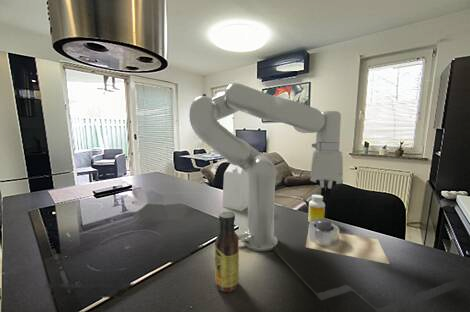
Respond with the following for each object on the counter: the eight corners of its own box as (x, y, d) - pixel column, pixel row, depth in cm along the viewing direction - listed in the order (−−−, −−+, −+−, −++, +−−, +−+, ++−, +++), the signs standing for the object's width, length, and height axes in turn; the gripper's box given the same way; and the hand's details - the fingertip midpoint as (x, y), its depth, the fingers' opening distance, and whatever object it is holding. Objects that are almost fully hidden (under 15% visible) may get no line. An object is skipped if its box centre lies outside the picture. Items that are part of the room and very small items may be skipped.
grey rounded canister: (322, 241, 74) (323, 225, 73) (312, 234, 79) (313, 219, 78) (334, 239, 76) (334, 223, 75) (323, 232, 81) (324, 217, 80)
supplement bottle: (325, 228, 89) (327, 198, 88) (309, 226, 90) (310, 197, 89) (322, 221, 96) (323, 194, 94) (307, 220, 97) (308, 193, 96)
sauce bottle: (215, 277, 59) (214, 209, 57) (237, 276, 59) (237, 208, 57) (215, 295, 52) (214, 219, 50) (240, 293, 53) (240, 218, 51)
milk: (251, 204, 119) (251, 158, 116) (241, 211, 109) (241, 161, 106) (233, 201, 125) (233, 157, 122) (222, 206, 115) (221, 159, 112)
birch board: (305, 250, 72) (305, 247, 72) (308, 230, 87) (308, 227, 87) (389, 267, 63) (389, 264, 63) (377, 242, 78) (377, 239, 77)
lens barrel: (321, 249, 71) (322, 234, 71) (303, 235, 80) (303, 222, 80) (344, 243, 74) (345, 230, 74) (324, 231, 84) (324, 219, 83)
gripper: (304, 147, 73) (302, 198, 75) (353, 148, 67) (350, 204, 69) (305, 146, 80) (304, 193, 82) (350, 147, 74) (347, 197, 76)
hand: (325, 198), depth 76 cm, fingers closed
